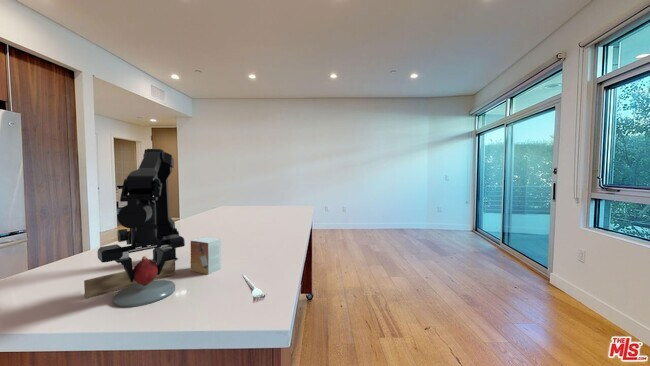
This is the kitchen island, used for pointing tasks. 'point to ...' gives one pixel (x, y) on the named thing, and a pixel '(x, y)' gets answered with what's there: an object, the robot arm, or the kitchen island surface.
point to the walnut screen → (120, 281)
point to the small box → (205, 255)
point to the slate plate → (143, 293)
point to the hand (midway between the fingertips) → (145, 278)
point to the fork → (254, 288)
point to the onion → (145, 271)
